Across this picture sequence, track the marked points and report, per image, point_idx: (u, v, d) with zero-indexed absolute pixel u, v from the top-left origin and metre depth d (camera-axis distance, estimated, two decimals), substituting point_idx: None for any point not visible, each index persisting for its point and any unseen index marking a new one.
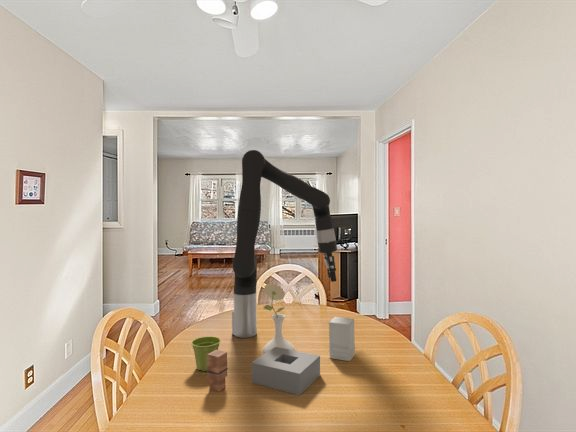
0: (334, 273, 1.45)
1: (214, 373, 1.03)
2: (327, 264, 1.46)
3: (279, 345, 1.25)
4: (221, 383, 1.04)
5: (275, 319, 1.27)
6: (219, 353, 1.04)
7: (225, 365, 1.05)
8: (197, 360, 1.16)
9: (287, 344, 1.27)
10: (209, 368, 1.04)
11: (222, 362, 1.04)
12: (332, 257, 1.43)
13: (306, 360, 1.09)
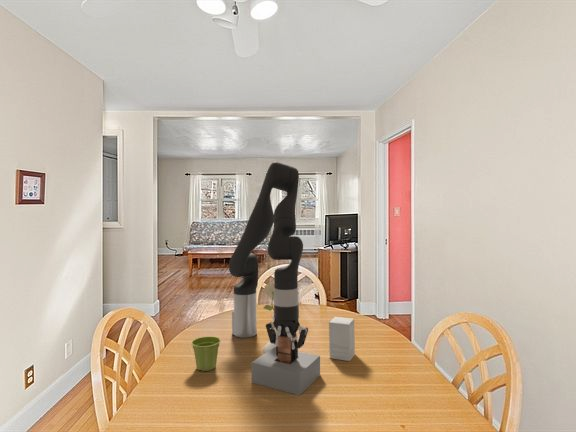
0: (276, 347, 1.11)
1: (286, 354, 1.08)
2: None
3: None
4: None
5: None
6: None
7: None
8: (197, 360, 1.16)
9: None
10: (280, 349, 1.09)
11: None
12: None
13: (306, 360, 1.09)
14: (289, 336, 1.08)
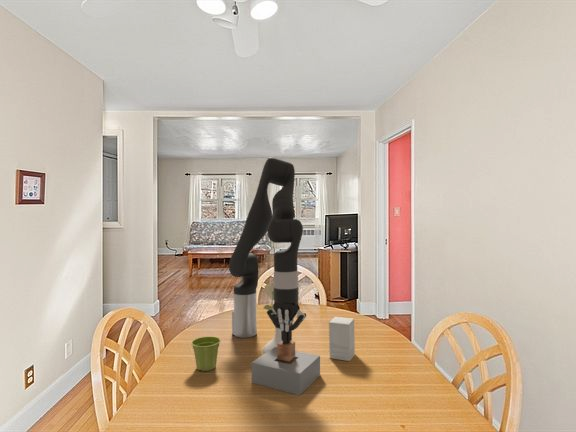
0: (281, 331, 1.10)
1: (285, 361, 1.08)
2: None
3: None
4: None
5: None
6: (288, 343, 1.10)
7: (294, 354, 1.10)
8: (197, 360, 1.16)
9: None
10: (279, 357, 1.09)
11: (292, 350, 1.09)
12: None
13: (306, 360, 1.09)
14: (286, 319, 1.08)
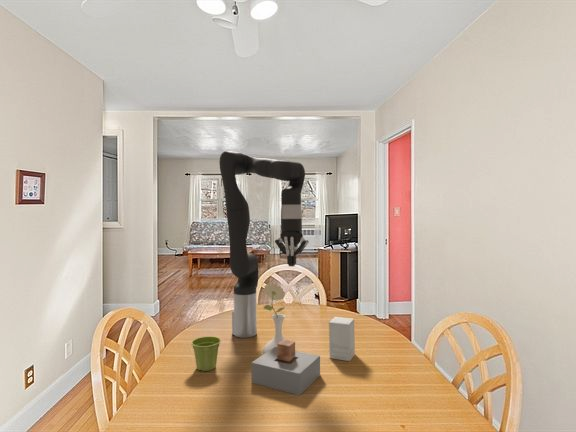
0: (287, 256, 1.30)
1: (285, 361, 1.08)
2: (289, 245, 1.32)
3: None
4: None
5: (275, 319, 1.27)
6: (288, 343, 1.10)
7: (294, 354, 1.10)
8: (197, 360, 1.16)
9: None
10: (279, 357, 1.09)
11: (292, 350, 1.09)
12: None
13: (306, 360, 1.09)
14: (292, 244, 1.28)
